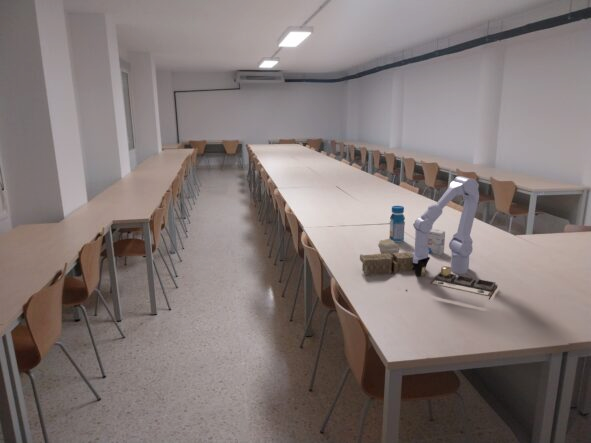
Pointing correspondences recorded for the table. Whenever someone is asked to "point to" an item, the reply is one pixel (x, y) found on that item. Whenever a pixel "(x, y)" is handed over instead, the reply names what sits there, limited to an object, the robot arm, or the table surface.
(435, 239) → the ink box
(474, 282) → the board
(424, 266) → the brass peg
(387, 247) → the fossil replica
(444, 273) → the placed peg
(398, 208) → the beverage bottle
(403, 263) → the block tower
